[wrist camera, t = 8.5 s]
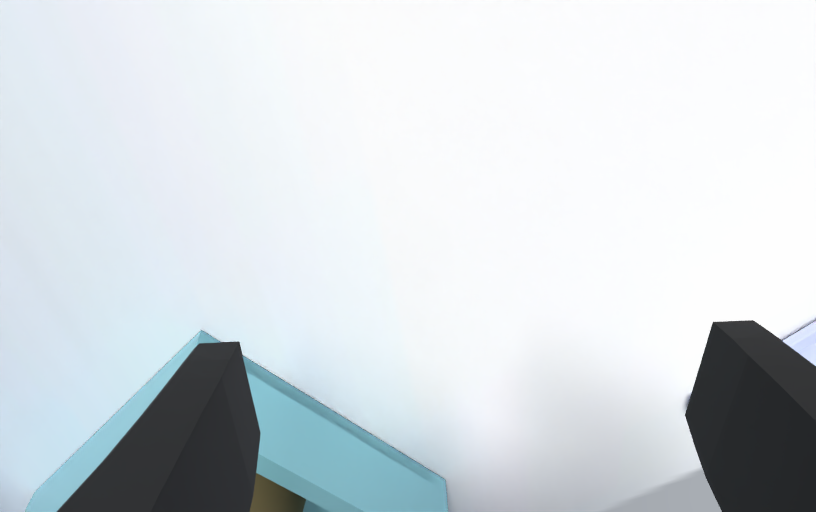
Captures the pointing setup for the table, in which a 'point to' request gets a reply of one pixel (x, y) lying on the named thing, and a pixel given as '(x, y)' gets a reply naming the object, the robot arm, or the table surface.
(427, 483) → the teal bin
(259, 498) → the cork
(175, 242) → the table surface
